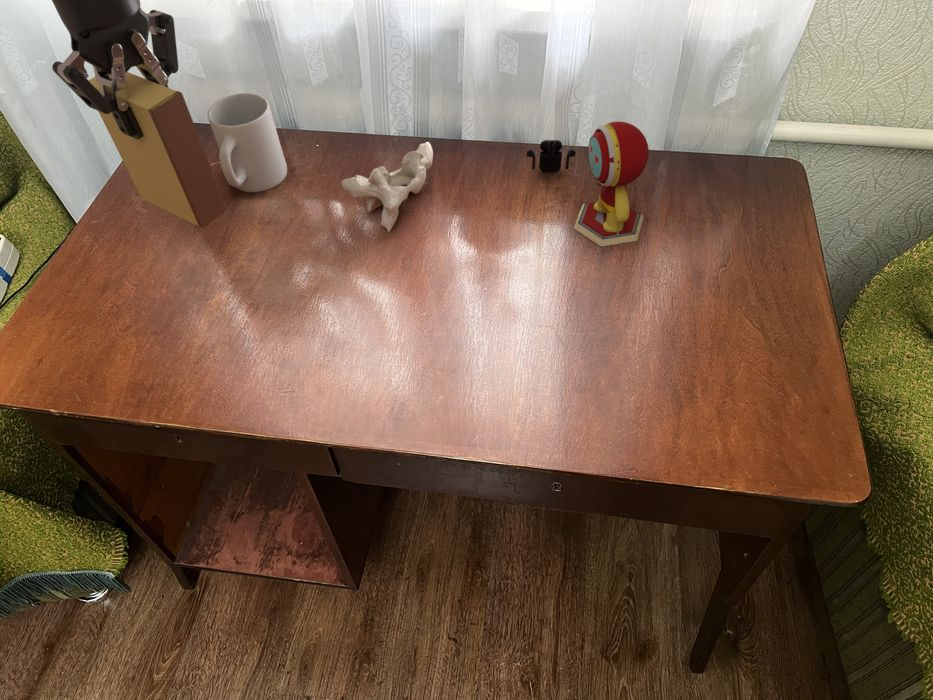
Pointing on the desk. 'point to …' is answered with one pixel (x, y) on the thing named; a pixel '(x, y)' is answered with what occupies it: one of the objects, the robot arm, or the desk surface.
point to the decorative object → (392, 184)
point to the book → (166, 153)
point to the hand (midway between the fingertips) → (152, 124)
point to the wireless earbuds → (550, 156)
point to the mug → (247, 142)
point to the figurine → (614, 184)
